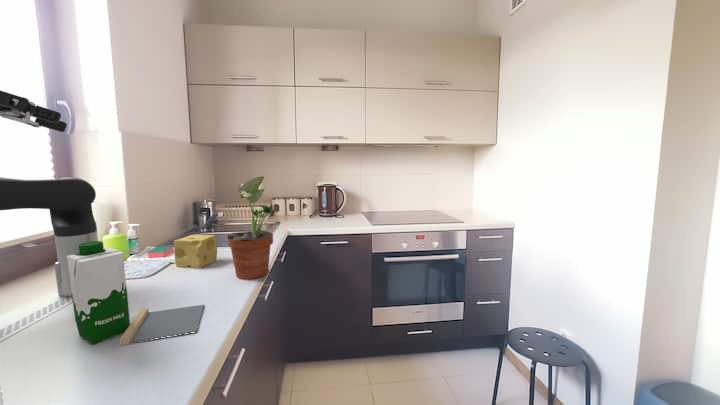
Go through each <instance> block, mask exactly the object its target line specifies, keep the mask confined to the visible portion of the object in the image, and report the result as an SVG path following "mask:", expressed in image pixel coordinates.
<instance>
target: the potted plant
mask: <svg viewBox="0 0 720 405" xmlns="http://www.w3.org/2000/svg"><path fill="white" fill-rule="evenodd" d="M264 179H265V176H256V177H254V178H252V179H249V180H248V181H246V182H245V183H244V184H243V185H241V187H240V188H239V189H238V190H239V192H246V193H241V194H240V196H239V200H242V199H246V200H247V201H248V203H249V205H250V210H251V211H250V213H251V230H250V231H243V232H242V231H241V232H240V231H239V232H238V231H237V232H232V233H230V234H229V235H228V237H227V246H228V247H229V248H230V251H231V254H232V256H231V257H232V261H233V265H234V271H235V275H236V278H237V279H239V280H242V281H249V280H252V279H257V278H260V277H263V276H265V275H267V274H268V272H269V268H270V267H269V264H270V253H271V245H273V243H274V234H273V232H270V231H265V230H261V229H262V226H263V222H264V221H265V218H266V217H267V215H268V214H270V217H273V216H274V214H275V211H274V210H273V209H271V208H270V207H269V206H268V205H264V204H263V205H261V204H259V205H258V206H259V207H261V210H257V209H255V207H254V206H255V203H257V202H258V201H259V200H260V198H261V197H262V195H263V193H264V192H265V187H261V188H259V187H260V186H261V184H262V183H263V181H264ZM260 219H261V220H260ZM258 220H260V222H258ZM257 225H258V226H257Z"/></svg>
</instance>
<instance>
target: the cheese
mask: <svg viewBox="0 0 720 405" xmlns="http://www.w3.org/2000/svg"><path fill="white" fill-rule="evenodd" d="M173 251H174V252H173V253H174V262H175V266H176V268H189V267H190V268H192V269H202V268H203V267H205V266H207V265H209V264H211V263H215V262H216V261H217V258H218V257H217V256H218V241H217V236H216V234H209V235H208V234H191V235H188V236H185V237H182V238H178V239H175V240H173Z"/></svg>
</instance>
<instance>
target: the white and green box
mask: <svg viewBox="0 0 720 405" xmlns="http://www.w3.org/2000/svg"><path fill="white" fill-rule="evenodd" d="M67 260H68V268H69V275H70V284H71V292H72V296H71V298H72V304H73V306H72V307H73V314H74V321H75V325H76V327H77V328H76V329H77V331H78V336H80V338H82V339H84V340H85V341H86V342H88V343H89V344H91V346H92V345H93V346H94V345H96V344H99V343H101V342H104V341H107V340H109V339H112V338H113V337H116V336H119V335H121V334H122V335H123V334H124V332H125V331H126V329H127V328H128V327H129V325H130V324H131V322H130V318H131V317H130V311H129V310H130V309H129V300H128V299H129V298H128V297H129V296H128V288H127V280H126V278H127V277H126V270H125V252H122V251H120V250H119V249H115V248H111V247H106V248H104V243H103V241H102V240H101V241H100V240H98V241H93V242H86V243H82V244H79V253H77V254H74V255H69V256H67Z"/></svg>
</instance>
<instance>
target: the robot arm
mask: <svg viewBox="0 0 720 405" xmlns="http://www.w3.org/2000/svg"><path fill="white" fill-rule="evenodd" d="M0 117H1V118H3V119H8V120H11V121H15V122H18V123H20V124H21V123H22V124H24V125H28V126H32V127H34V128H41V127H43V128H46V129H50V130H54V131H56V132H59V133H64V132H66V129H67V127H68V124H67V123H66V122H64V121H61V117H62V114H61V113H60V112H59V111H56V110H53V109H50V108H48V107H47V108H46V107H43V106H40V105H38V104H37V105H36V103H34V102H33V101H30V100H29V99H28V98H26V97H24V96H20V95H16V94H13V93H9V92H7V91H3V90H2V89H1V90H0ZM31 117H32V118H33V119H32V120H31ZM96 195H97V193H96V189H95V188H94V187H93V185H92V184H91V183H89V182H88V181H87V180H85V179H82V178H79V177H72V176H64V177H61V178H58V179H57V178H55V179H54V178H53V179H20V178H19V179H18V178H10V177H2V176H0V211H8V210H9V211H11V210H22V209H39V210H41V209H42V210H49V215H50V221H51V226H52V229H53V235H54V240H55V249H56V250H55V251H56V257H57V261H56V262H55V263H54V264H53V265H54V271H55V280H56V286H57V294H58V297H60V296H66V297H72V292H71V284H70V275H69V268H68V260H67V256H69V255H74V254H77V253H79V244H82V243H86V242H93V241H99V237H98V227H97V221H96V220H95V217H94V213H93V207H92V203H94V201H95V199H96Z"/></svg>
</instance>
